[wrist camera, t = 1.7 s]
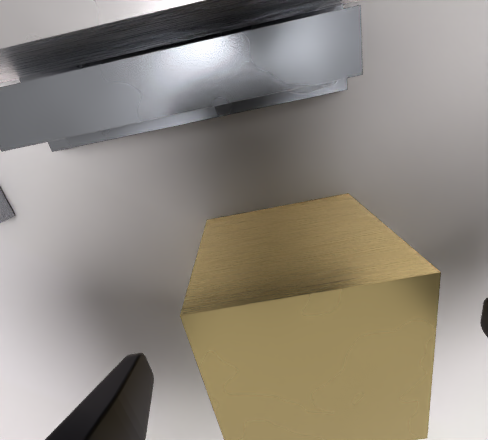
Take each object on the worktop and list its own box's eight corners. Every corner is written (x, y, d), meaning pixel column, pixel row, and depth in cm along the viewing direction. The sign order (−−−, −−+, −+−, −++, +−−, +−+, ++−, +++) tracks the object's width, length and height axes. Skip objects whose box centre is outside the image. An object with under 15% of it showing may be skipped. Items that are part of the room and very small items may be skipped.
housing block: (351, 191, 10) (448, 270, 5) (357, 305, 12) (433, 437, 7) (207, 219, 10) (179, 315, 6) (235, 325, 12) (232, 464, 7)
